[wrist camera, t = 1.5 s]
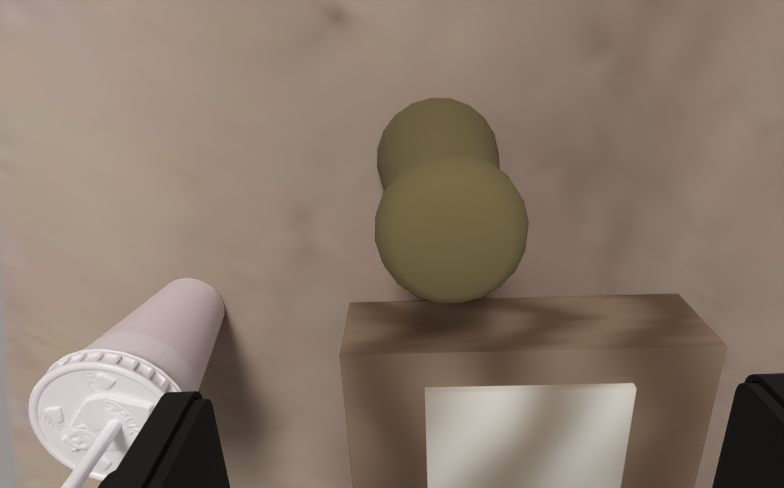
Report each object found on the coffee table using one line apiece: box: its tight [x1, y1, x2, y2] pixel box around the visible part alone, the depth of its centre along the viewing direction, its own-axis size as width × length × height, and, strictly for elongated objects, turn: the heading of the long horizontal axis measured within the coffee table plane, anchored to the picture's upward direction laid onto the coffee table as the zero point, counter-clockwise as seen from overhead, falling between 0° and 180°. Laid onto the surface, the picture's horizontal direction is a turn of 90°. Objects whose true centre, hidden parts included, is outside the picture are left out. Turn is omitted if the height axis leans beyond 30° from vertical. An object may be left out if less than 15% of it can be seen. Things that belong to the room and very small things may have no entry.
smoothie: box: [29, 278, 225, 488], centre depth 25 cm, size 6×6×14 cm
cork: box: [375, 98, 529, 303], centre depth 22 cm, size 6×6×11 cm
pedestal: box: [340, 294, 727, 488], centre depth 30 cm, size 18×14×5 cm
